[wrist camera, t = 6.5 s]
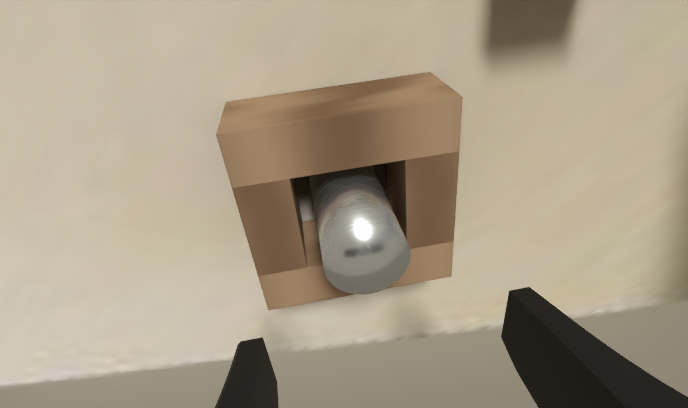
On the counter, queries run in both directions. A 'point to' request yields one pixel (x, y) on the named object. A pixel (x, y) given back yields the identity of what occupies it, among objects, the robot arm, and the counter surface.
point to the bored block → (341, 154)
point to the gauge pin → (358, 231)
